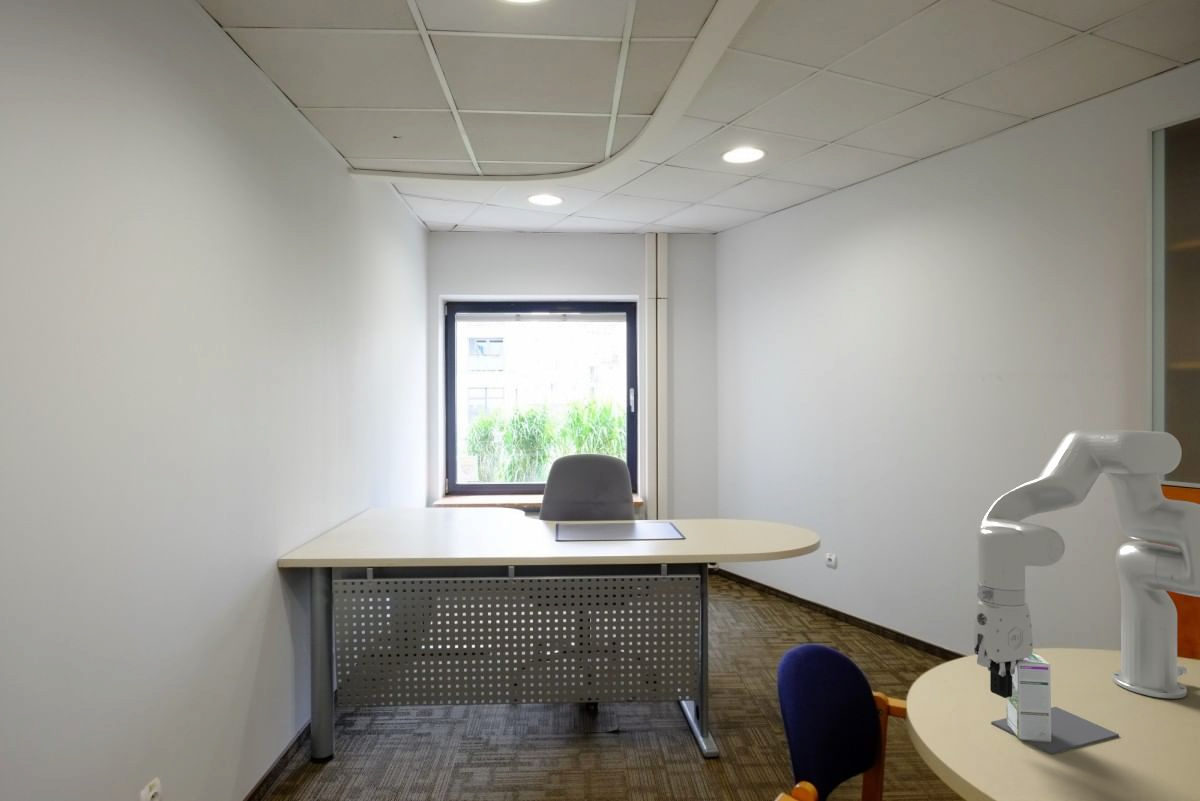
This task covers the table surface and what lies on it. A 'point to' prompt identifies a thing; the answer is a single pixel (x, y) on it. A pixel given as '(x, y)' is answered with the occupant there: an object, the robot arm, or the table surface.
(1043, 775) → the table surface
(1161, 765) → the table surface
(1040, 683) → the syrup box
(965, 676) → the table surface
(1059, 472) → the robot arm
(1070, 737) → the mat
